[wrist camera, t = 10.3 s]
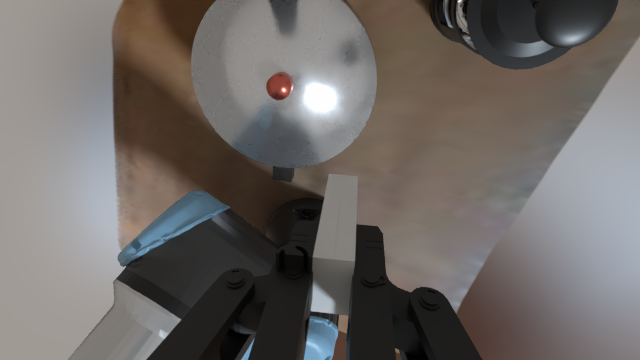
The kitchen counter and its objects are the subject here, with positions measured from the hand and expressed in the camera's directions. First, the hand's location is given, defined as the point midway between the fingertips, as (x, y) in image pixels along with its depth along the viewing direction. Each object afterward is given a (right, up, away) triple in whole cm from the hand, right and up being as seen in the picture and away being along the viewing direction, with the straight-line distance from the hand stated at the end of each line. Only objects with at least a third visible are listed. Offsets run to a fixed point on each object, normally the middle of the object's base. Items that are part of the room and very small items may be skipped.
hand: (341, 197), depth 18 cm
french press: (+17, +21, +21) cm, 34 cm away
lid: (-5, +14, +16) cm, 22 cm away
